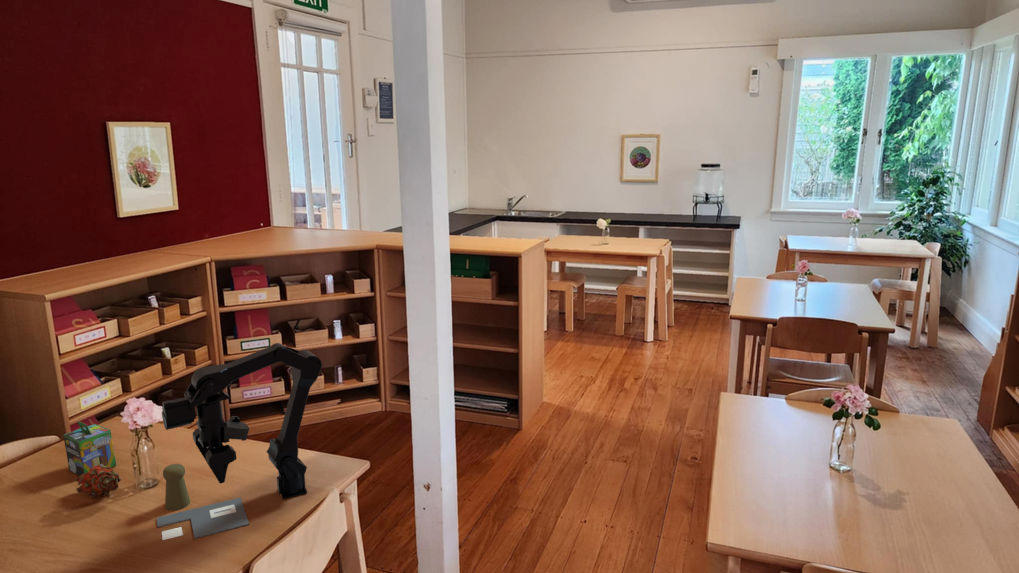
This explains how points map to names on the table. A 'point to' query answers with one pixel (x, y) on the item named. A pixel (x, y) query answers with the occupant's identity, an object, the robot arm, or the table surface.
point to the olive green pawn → (175, 487)
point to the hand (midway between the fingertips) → (217, 475)
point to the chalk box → (89, 448)
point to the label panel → (207, 519)
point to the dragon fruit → (98, 481)
